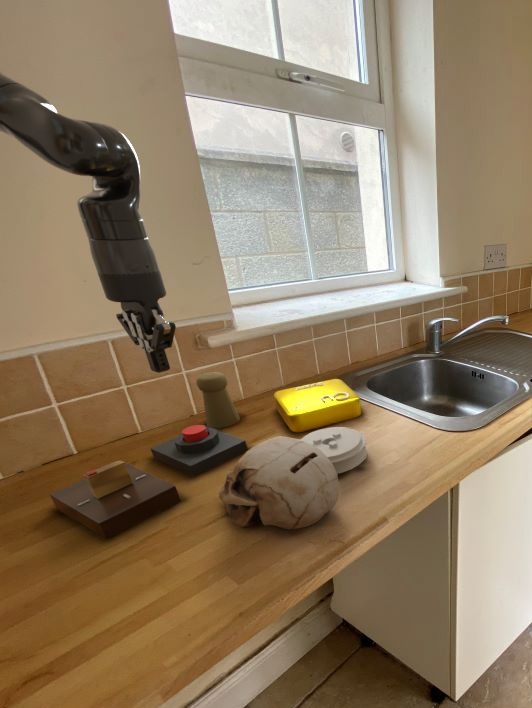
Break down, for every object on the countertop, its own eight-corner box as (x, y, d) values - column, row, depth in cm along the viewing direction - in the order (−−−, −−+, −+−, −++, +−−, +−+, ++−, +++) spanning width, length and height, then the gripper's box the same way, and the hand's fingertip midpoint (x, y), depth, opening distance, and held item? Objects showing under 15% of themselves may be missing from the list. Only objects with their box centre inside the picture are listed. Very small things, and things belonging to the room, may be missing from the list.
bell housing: (153, 458, 83) (146, 439, 81) (208, 434, 91) (203, 417, 90) (194, 476, 79) (187, 457, 77) (248, 449, 87) (243, 432, 85)
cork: (199, 424, 95) (184, 377, 90) (225, 412, 100) (212, 367, 95) (221, 430, 93) (206, 382, 88) (246, 417, 98) (234, 371, 94)
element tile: (341, 393, 112) (338, 375, 110) (364, 415, 102) (362, 396, 100) (275, 408, 103) (271, 389, 101) (293, 435, 93) (288, 414, 91)
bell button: (180, 439, 83) (177, 431, 82) (200, 431, 86) (198, 423, 85) (192, 444, 81) (189, 436, 81) (212, 435, 84) (210, 427, 84)
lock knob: (128, 480, 72) (118, 458, 70) (133, 483, 72) (123, 460, 70) (93, 496, 68) (82, 473, 66) (97, 499, 68) (87, 476, 66)
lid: (287, 457, 85) (281, 434, 83) (352, 437, 93) (349, 415, 91) (308, 489, 77) (303, 465, 75) (378, 464, 85) (376, 441, 82)
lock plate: (57, 509, 70) (48, 493, 68) (131, 476, 78) (125, 461, 77) (106, 539, 65) (98, 522, 63) (181, 500, 73) (175, 484, 71)
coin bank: (233, 488, 76) (222, 420, 70) (343, 482, 82) (341, 419, 76) (203, 558, 63) (186, 480, 57) (337, 545, 68) (334, 474, 63)
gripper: (179, 270, 71) (207, 371, 78) (133, 261, 76) (163, 357, 83) (123, 276, 65) (158, 386, 72) (76, 265, 70) (114, 369, 77)
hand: (161, 370), depth 78 cm, fingers closed
